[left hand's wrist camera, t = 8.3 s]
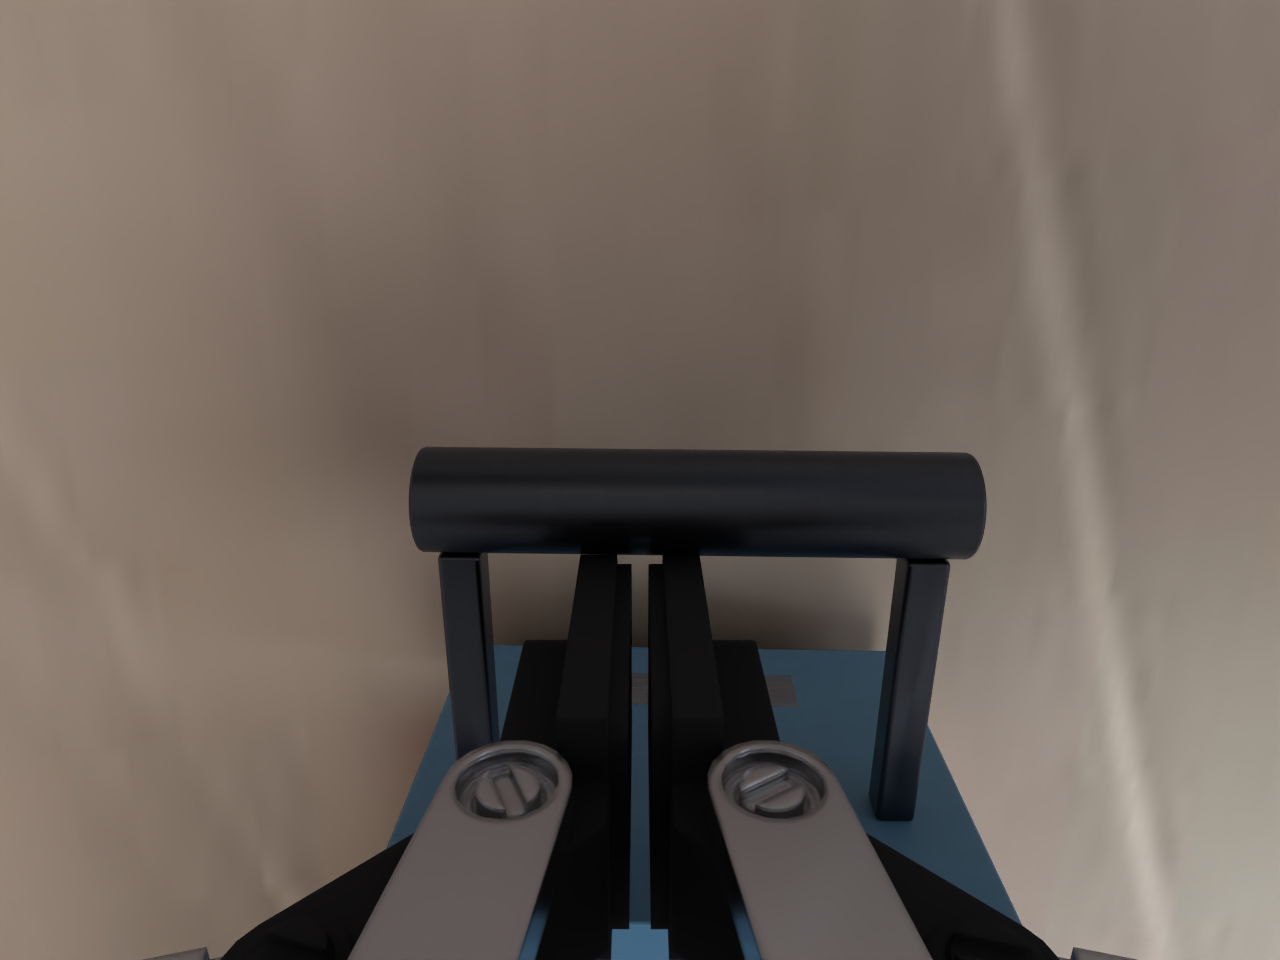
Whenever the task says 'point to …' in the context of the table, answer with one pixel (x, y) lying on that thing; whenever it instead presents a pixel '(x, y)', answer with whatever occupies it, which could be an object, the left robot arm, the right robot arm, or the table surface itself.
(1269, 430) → the table surface
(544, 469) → the drawer
